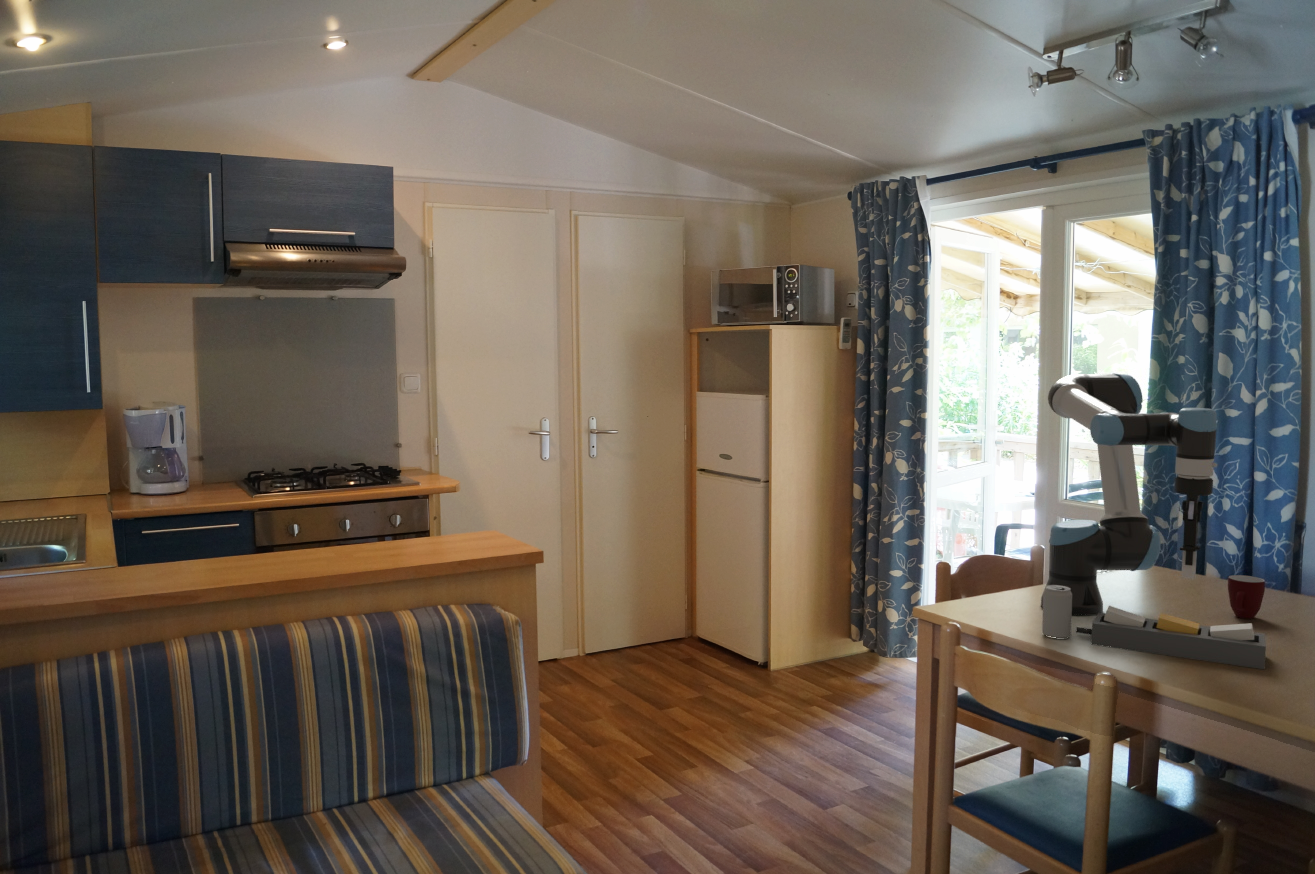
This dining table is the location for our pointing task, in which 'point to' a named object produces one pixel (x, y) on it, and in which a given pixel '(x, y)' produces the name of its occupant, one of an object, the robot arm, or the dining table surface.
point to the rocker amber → (1176, 624)
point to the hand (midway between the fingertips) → (1188, 577)
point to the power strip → (1178, 642)
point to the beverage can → (1057, 611)
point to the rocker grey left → (1123, 617)
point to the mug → (1245, 595)
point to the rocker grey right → (1233, 631)
